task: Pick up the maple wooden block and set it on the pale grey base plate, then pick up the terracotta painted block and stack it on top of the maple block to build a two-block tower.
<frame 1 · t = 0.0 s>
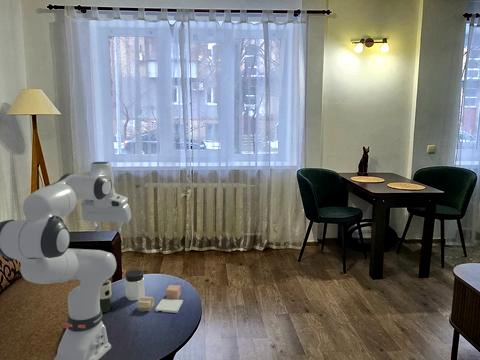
hand: (108, 230, 172), 39 cm above the table, tool pointing down, fingers open, 8 cm apart
base plate: (169, 306, 187), on the table
character mug: (104, 310, 184), on the table
terracotta block: (173, 296, 197), on the table
maple block: (146, 308, 185), on the table
jar: (135, 297, 196), on the table
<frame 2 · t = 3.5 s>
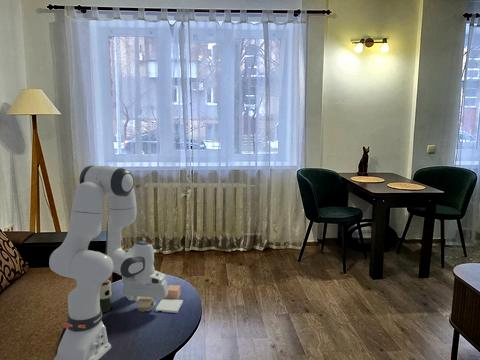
hand: (145, 304, 185), 2 cm above the table, tool pointing down, fingers closed on maple block, 5 cm apart
maple block: (146, 308, 185), on the table, touching gripper
everything else where it was.
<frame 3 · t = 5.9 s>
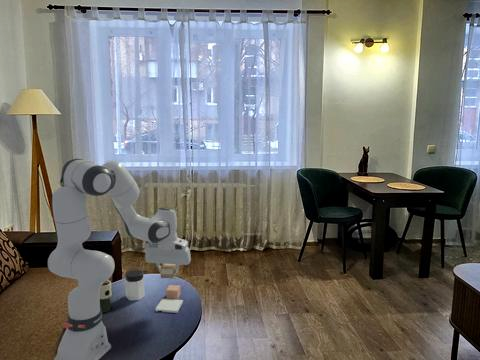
hand: (168, 272, 184), 17 cm above the table, tool pointing down, fingers closed on maple block, 5 cm apart
maple block: (168, 275, 184), point 15 cm above the table, touching gripper
everything else where it was.
when the fingers open (4 cm above the table, at t = 8.6 s): maple block drops 1 cm, resting on base plate.
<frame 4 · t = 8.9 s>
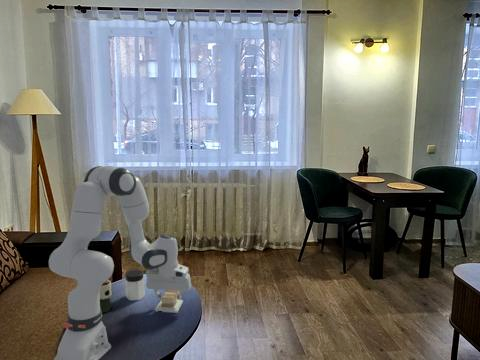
hand: (169, 298, 186), 4 cm above the table, tool pointing down, fingers open, 8 cm apart
maple block: (169, 304, 187), point 1 cm above the table, touching base plate
everything else where it was.
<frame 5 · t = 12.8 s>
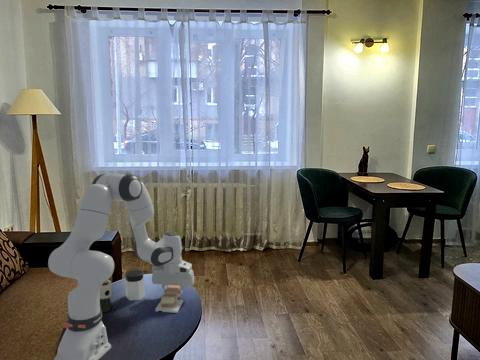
hand: (173, 292, 197), 2 cm above the table, tool pointing down, fingers closed on terracotta block, 6 cm apart
terracotta block: (173, 296, 197), on the table, touching gripper
everything else where it was.
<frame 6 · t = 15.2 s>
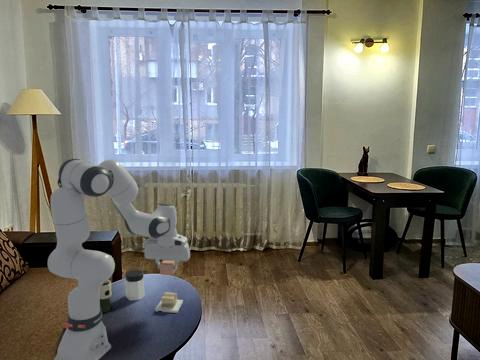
hand: (167, 268, 184), 18 cm above the table, tool pointing down, fingers closed on terracotta block, 6 cm apart
terracotta block: (167, 272, 184), point 17 cm above the table, touching gripper
everything else where it was.
when the fingers open (9 cm above the table, at t = 17.7 s): terracotta block drops 1 cm, resting on maple block.
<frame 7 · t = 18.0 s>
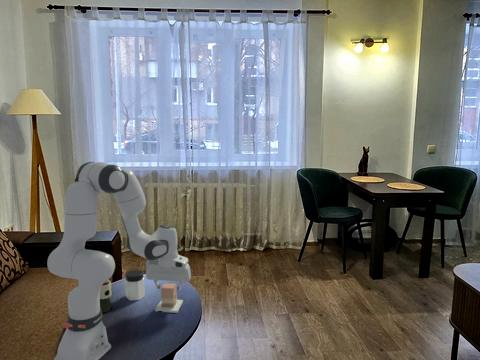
hand: (168, 288, 185), 9 cm above the table, tool pointing down, fingers open, 8 cm apart
terracotta block: (169, 295, 186), point 5 cm above the table, touching maple block
maple block: (169, 304, 187), point 1 cm above the table, touching base plate, terracotta block
everything else where it was.
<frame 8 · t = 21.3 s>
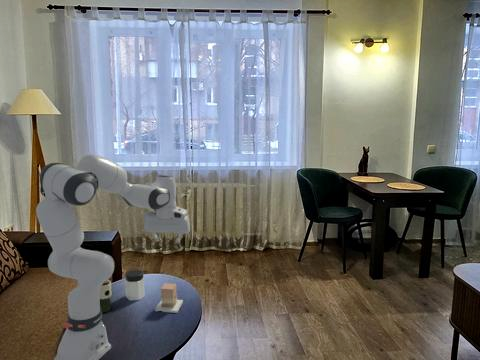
hand: (167, 241, 181), 31 cm above the table, tool pointing down, fingers open, 8 cm apart
nothing on the table moved.
at the end: maple block 0.1 cm off-centre on the base plate, point 1.0 cm above the base plate's base; terracotta block 0.1 cm off-centre on the maple block, point 4.5 cm above the maple block's base; terracotta block tilted 0° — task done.
